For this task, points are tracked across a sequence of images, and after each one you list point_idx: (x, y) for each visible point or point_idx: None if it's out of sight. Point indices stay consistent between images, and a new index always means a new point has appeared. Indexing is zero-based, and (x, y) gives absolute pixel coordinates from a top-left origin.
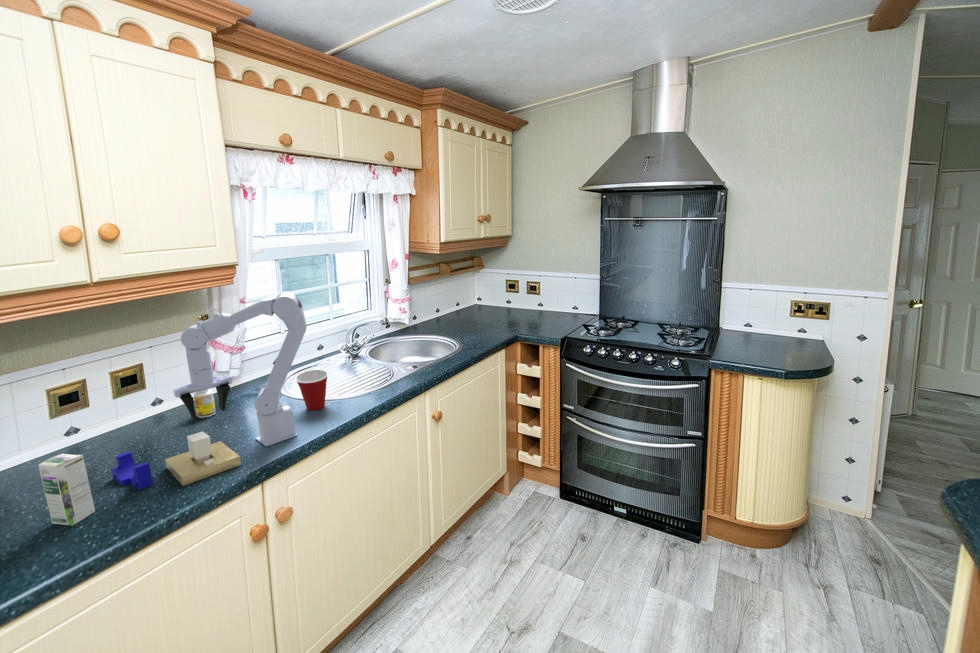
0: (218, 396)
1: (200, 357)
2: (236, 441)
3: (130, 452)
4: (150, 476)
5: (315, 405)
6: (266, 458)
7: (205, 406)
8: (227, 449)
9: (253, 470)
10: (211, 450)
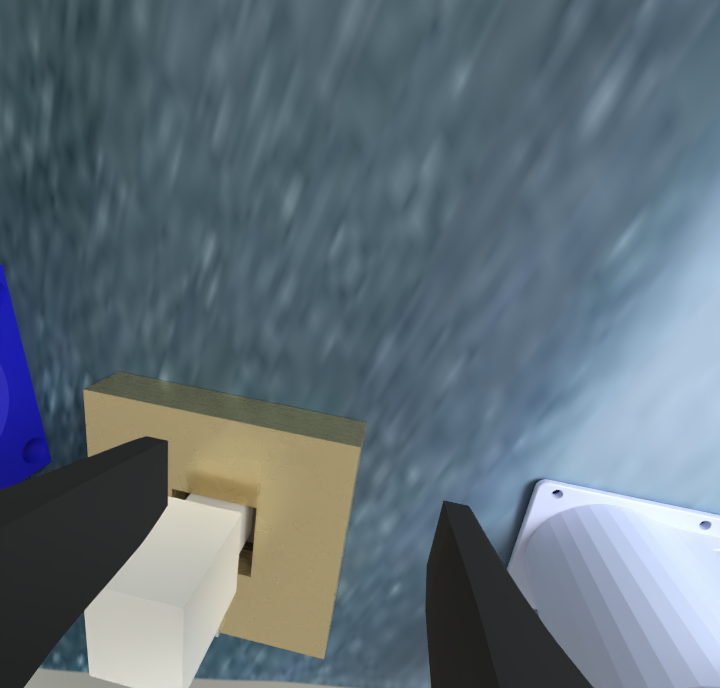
0: (479, 649)
1: None
2: (467, 406)
3: None
4: (12, 484)
5: None
6: (423, 661)
7: None
8: (327, 564)
9: (336, 683)
10: (226, 607)
